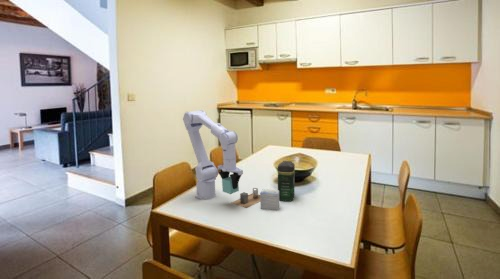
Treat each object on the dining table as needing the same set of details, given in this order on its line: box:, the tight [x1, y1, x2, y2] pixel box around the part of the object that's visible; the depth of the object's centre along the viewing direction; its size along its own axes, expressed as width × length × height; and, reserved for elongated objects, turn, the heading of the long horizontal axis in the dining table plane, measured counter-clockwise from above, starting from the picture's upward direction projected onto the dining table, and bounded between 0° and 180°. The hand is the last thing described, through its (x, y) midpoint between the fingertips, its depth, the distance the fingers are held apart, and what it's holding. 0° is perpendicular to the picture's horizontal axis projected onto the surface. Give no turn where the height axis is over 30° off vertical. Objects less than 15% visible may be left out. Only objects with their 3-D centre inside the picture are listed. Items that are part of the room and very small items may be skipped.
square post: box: [239, 191, 249, 204], centre depth 141 cm, size 3×3×4 cm
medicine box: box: [259, 188, 281, 211], centre depth 134 cm, size 8×4×9 cm, turn 74°
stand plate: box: [230, 192, 261, 209], centre depth 144 cm, size 10×16×1 cm, turn 138°
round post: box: [252, 187, 259, 199], centre depth 146 cm, size 3×3×4 cm
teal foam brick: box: [221, 176, 240, 195], centre depth 137 cm, size 5×5×6 cm
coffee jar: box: [277, 160, 296, 203], centre depth 144 cm, size 10×8×19 cm
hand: (230, 187), depth 138 cm, fingers closed on teal foam brick, 5 cm apart
